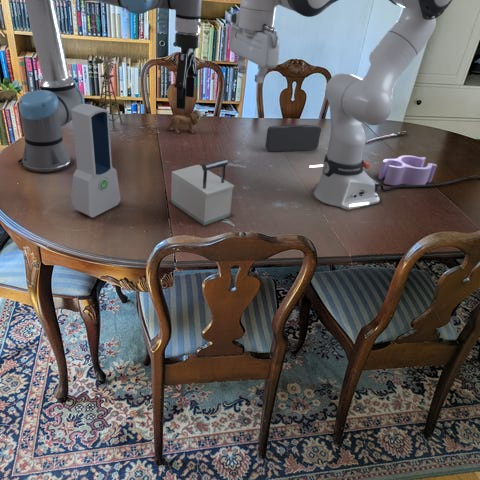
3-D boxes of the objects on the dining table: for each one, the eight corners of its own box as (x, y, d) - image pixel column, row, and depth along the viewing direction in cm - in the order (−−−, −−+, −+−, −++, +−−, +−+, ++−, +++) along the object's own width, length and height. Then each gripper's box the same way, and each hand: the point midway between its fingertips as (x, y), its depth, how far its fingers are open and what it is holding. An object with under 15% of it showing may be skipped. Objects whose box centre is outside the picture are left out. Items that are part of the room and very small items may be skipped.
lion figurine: (198, 128, 202) (199, 107, 197) (202, 132, 198) (203, 111, 193) (165, 129, 197) (165, 108, 192) (167, 134, 193) (168, 112, 188)
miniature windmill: (114, 130, 191) (109, 53, 175) (95, 127, 192) (88, 50, 176) (123, 123, 199) (120, 49, 183) (104, 120, 200) (99, 46, 184)
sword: (403, 131, 224) (404, 129, 223) (408, 133, 222) (409, 131, 221) (360, 143, 208) (360, 140, 207) (365, 145, 206) (366, 142, 205)
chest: (230, 215, 141) (232, 187, 136) (203, 225, 135) (205, 196, 130) (196, 194, 151) (198, 166, 146) (171, 202, 145) (171, 174, 140)
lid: (233, 188, 136) (236, 162, 131) (206, 196, 130) (208, 169, 125) (198, 166, 146) (199, 142, 141) (171, 173, 140) (171, 148, 135)
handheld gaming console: (315, 147, 196) (319, 124, 190) (317, 149, 194) (322, 126, 188) (264, 149, 189) (267, 125, 183) (266, 152, 187) (269, 127, 181)
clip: (390, 188, 168) (396, 170, 164) (372, 173, 178) (376, 156, 174) (435, 185, 175) (441, 168, 171) (415, 170, 184) (420, 154, 181)
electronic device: (90, 219, 132) (80, 115, 116) (71, 210, 135) (59, 108, 119) (121, 203, 141) (116, 105, 125) (103, 195, 144) (96, 99, 128)
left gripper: (191, 41, 131) (188, 115, 143) (207, 28, 152) (203, 93, 164) (165, 38, 132) (164, 112, 143) (184, 25, 153) (182, 90, 164)
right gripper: (289, 29, 111) (280, 88, 118) (248, 14, 125) (242, 68, 133) (266, 28, 108) (258, 89, 115) (227, 13, 122) (222, 68, 130)
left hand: (185, 102), depth 154 cm, fingers open, 13 cm apart
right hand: (249, 77), depth 124 cm, fingers open, 8 cm apart
